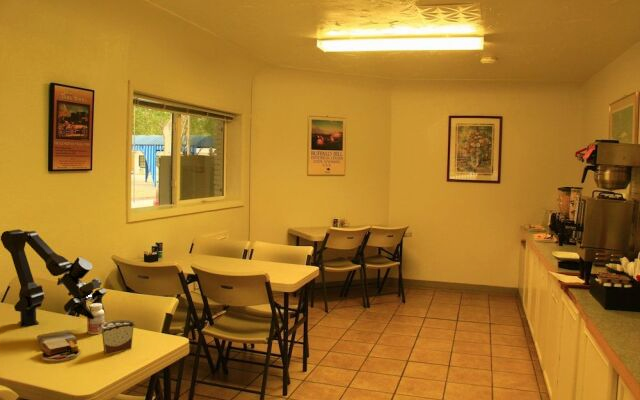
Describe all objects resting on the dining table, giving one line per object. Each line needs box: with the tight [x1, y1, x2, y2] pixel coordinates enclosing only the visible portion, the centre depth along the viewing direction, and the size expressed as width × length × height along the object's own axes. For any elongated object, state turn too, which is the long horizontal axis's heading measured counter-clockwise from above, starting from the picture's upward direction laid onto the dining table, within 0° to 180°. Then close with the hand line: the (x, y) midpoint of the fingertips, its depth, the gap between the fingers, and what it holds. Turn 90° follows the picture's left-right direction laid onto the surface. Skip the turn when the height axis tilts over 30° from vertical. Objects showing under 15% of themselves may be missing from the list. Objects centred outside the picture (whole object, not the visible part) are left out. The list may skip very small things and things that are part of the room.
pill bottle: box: [86, 303, 105, 335], centre depth 206 cm, size 6×6×11 cm
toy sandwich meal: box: [39, 338, 82, 363], centre depth 182 cm, size 12×14×5 cm
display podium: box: [36, 329, 78, 348], centre depth 194 cm, size 11×11×2 cm
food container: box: [100, 319, 136, 356], centre depth 188 cm, size 12×6×10 cm, turn 135°
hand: (98, 316), depth 206 cm, fingers closed on pill bottle, 6 cm apart
